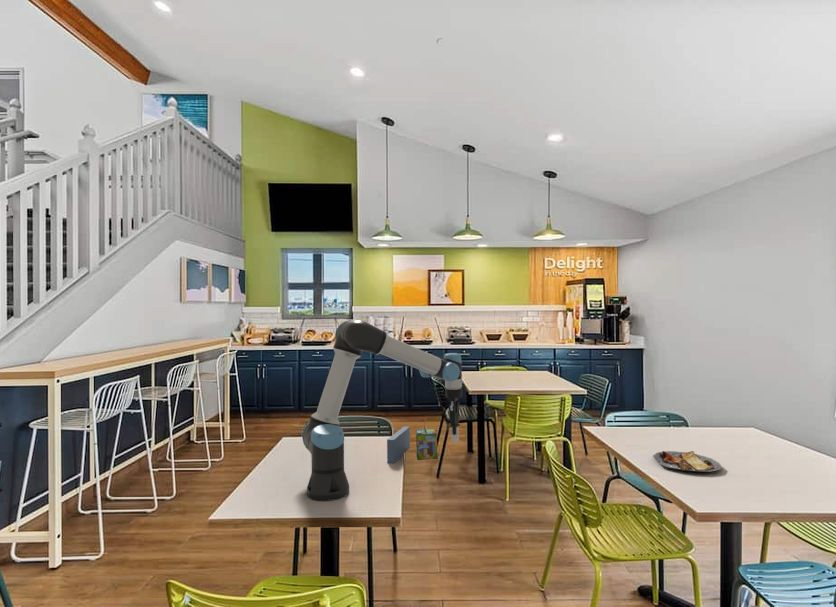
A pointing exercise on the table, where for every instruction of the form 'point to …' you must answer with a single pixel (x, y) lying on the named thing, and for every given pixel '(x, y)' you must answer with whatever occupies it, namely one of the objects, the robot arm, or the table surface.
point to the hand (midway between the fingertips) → (455, 441)
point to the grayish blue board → (398, 444)
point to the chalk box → (426, 444)
